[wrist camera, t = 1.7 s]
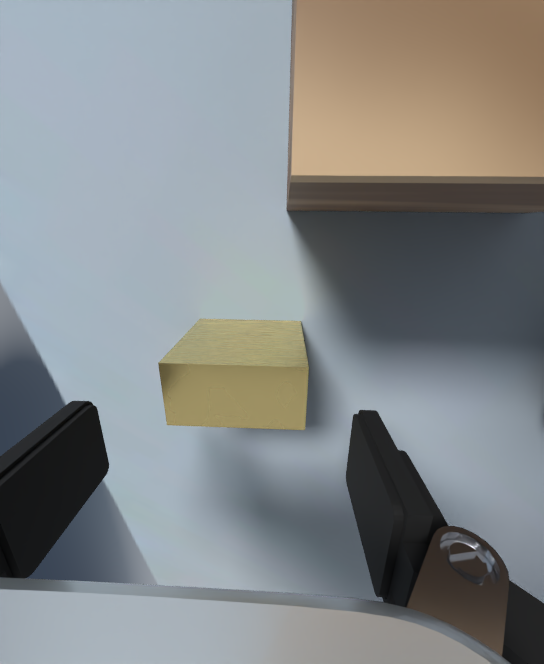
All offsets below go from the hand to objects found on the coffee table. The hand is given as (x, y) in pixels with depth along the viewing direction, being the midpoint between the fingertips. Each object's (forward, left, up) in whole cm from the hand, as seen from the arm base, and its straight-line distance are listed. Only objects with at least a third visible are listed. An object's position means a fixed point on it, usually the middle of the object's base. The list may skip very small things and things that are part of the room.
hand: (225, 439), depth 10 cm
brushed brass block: (-1, 0, -8) cm, 8 cm away
